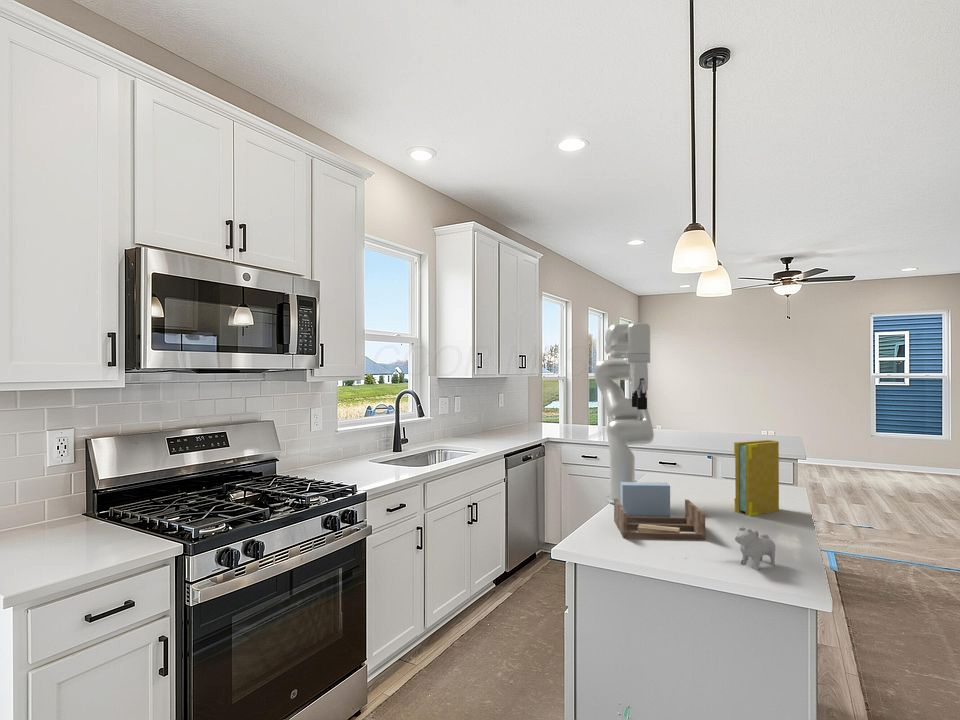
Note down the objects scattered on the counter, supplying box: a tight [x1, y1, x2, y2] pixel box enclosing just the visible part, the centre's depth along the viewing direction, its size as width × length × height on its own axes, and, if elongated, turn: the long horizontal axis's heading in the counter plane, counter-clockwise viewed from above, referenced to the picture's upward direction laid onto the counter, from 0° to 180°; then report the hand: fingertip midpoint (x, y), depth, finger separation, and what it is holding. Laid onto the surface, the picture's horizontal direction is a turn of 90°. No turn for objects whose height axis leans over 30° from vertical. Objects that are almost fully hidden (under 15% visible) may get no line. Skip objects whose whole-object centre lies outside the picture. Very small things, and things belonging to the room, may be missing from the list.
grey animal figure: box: [734, 526, 776, 571], centre depth 151 cm, size 5×13×11 cm, turn 118°
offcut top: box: [637, 523, 681, 533], centre depth 174 cm, size 4×12×2 cm, turn 67°
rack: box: [613, 498, 706, 541], centre depth 178 cm, size 18×24×9 cm
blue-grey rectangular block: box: [620, 481, 671, 517], centre depth 197 cm, size 5×16×12 cm, turn 85°
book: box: [733, 439, 780, 517], centre depth 205 cm, size 17×7×25 cm, turn 114°
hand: (639, 408), depth 196 cm, fingers open, 9 cm apart
